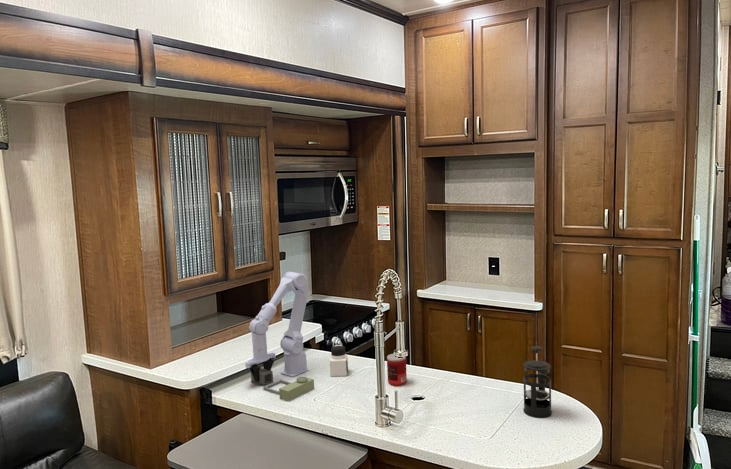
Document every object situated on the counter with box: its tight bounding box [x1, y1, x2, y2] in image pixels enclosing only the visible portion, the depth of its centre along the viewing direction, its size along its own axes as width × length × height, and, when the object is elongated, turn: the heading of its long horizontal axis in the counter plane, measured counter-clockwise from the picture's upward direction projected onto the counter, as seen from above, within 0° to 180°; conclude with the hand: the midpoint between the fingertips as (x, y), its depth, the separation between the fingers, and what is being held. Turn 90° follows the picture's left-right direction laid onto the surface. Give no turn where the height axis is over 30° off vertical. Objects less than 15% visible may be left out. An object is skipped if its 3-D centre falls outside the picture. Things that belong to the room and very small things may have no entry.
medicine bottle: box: [329, 344, 349, 378], centre depth 225 cm, size 7×7×12 cm
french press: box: [522, 345, 553, 419], centre depth 180 cm, size 12×9×23 cm
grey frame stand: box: [262, 376, 315, 402], centre depth 209 cm, size 14×17×5 cm
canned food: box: [386, 353, 408, 387], centre depth 212 cm, size 8×8×11 cm
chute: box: [250, 367, 274, 387], centre depth 219 cm, size 8×5×5 cm, turn 51°
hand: (262, 379), depth 219 cm, fingers closed on chute, 5 cm apart
